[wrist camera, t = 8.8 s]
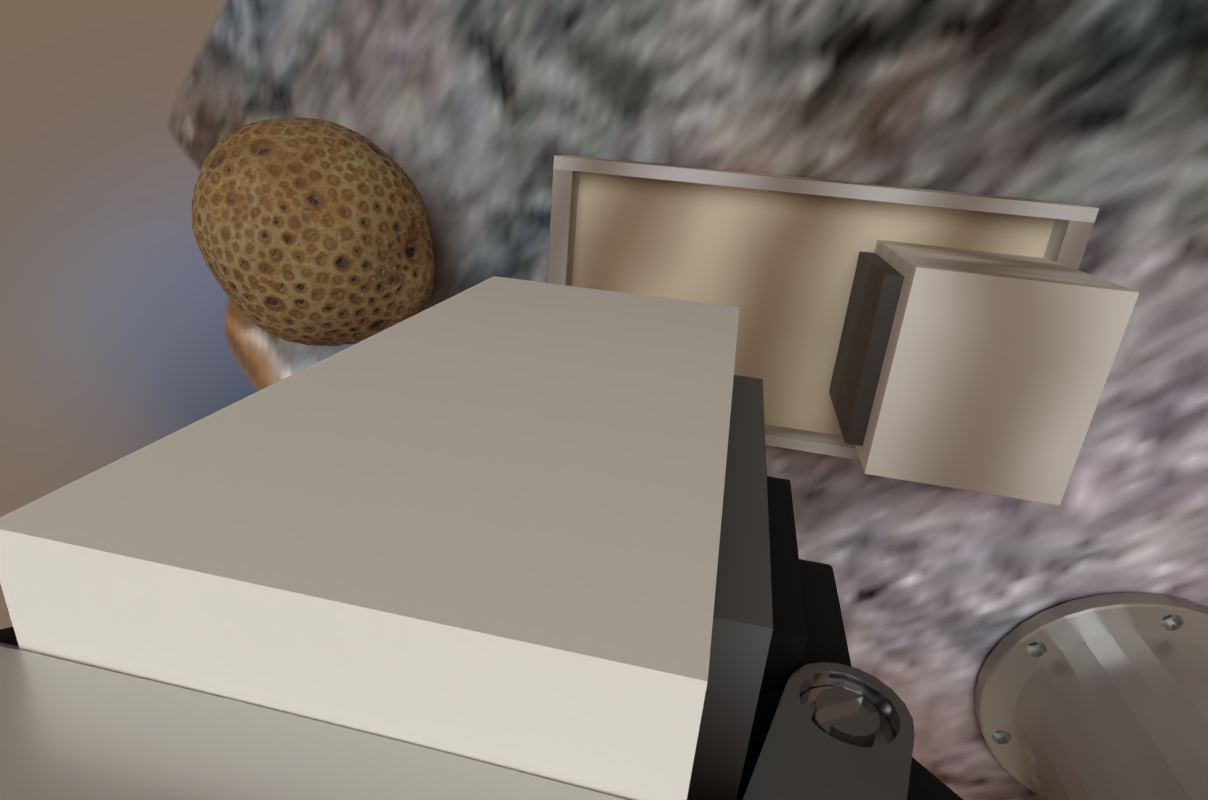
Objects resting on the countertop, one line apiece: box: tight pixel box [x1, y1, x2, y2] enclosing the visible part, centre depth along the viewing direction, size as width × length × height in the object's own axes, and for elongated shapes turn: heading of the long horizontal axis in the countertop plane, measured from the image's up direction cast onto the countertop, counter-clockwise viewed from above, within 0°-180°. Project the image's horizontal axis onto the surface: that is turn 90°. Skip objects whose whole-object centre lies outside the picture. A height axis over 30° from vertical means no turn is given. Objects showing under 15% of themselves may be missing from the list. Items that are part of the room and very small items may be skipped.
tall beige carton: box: [0, 276, 773, 800], centre depth 9 cm, size 5×8×9 cm, turn 175°
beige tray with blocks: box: [547, 155, 1139, 505], centre depth 26 cm, size 20×11×8 cm, turn 85°
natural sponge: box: [192, 117, 435, 346], centre depth 28 cm, size 9×9×10 cm
